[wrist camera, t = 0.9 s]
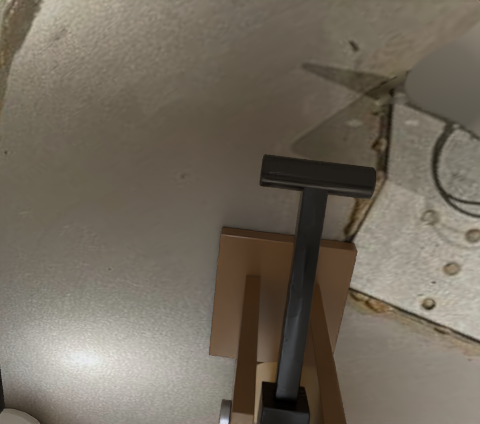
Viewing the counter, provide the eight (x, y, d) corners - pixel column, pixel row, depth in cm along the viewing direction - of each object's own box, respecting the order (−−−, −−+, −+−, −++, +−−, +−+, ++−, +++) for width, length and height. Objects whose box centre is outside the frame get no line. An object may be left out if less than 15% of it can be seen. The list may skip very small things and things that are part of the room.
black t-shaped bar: (263, 154, 21) (263, 153, 18) (367, 167, 20) (382, 168, 18) (228, 427, 22) (224, 459, 20) (324, 440, 22) (332, 474, 20)
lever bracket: (222, 226, 29) (189, 353, 17) (354, 243, 29) (411, 383, 17) (210, 344, 33) (176, 515, 21) (327, 360, 33) (359, 541, 21)
